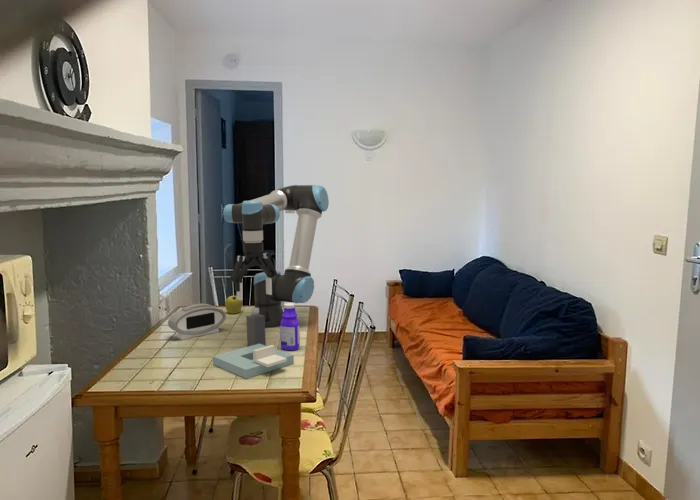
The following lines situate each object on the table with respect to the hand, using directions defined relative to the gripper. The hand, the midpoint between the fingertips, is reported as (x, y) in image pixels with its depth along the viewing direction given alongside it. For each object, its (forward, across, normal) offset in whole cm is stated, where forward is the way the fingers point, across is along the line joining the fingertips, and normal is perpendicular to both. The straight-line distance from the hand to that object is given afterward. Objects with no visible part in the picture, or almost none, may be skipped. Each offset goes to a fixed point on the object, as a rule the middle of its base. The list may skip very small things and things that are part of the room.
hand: (254, 297), depth 212 cm
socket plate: (+20, +13, +16) cm, 28 cm away
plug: (+20, 0, 0) cm, 20 cm away
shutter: (+16, +13, +26) cm, 33 cm away
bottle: (+20, -7, +12) cm, 24 cm away
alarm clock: (+20, +7, -31) cm, 37 cm away
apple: (+19, -24, -51) cm, 60 cm away
